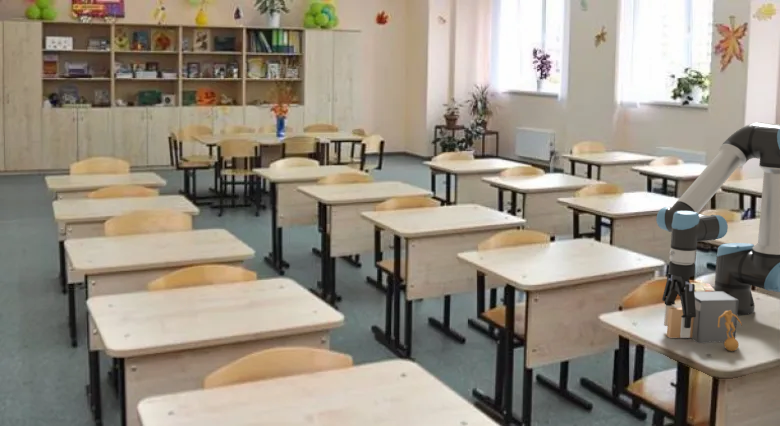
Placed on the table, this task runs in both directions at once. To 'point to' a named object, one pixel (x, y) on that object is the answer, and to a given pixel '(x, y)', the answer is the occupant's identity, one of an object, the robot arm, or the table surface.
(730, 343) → the figurine
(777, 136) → the robot arm
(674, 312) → the light orange rectangular block
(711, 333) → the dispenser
